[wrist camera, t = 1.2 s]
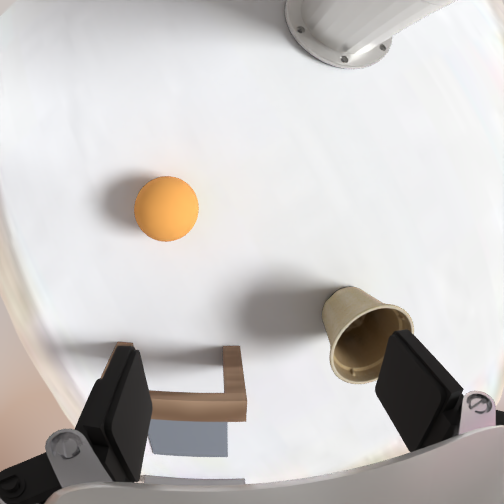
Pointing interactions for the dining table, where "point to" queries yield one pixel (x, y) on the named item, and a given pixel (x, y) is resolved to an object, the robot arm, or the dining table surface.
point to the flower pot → (360, 333)
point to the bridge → (204, 396)
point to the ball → (166, 208)
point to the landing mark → (188, 438)
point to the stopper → (192, 481)
